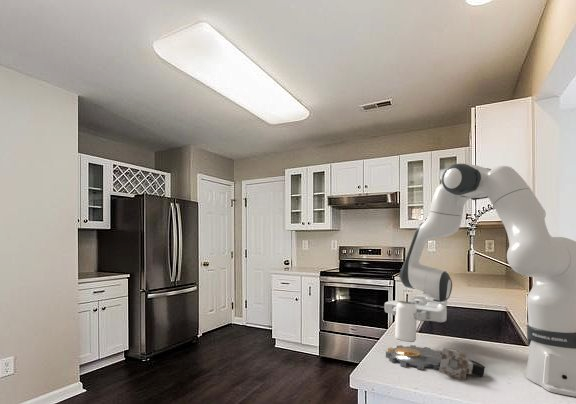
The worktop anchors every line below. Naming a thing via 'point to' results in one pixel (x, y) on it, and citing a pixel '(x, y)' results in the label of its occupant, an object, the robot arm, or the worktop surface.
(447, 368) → the caster wheel
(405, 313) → the can
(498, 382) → the worktop surface
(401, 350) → the sprocket plate
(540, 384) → the robot arm
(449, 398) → the worktop surface
